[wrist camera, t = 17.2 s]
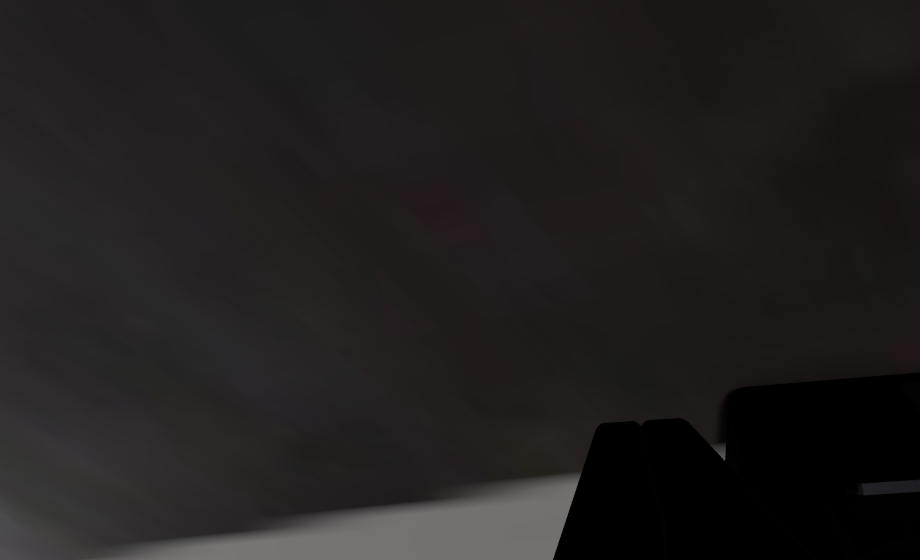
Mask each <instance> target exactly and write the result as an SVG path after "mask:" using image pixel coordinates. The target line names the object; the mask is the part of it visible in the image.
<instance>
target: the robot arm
mask: <svg viewBox="0 0 920 560" xmlns="http://www.w3.org/2000/svg"><path fill="white" fill-rule="evenodd" d="M746 402H752V403H750V404H748V405H743V404H744V403H746ZM553 560H920V373H911V374H899V375H887V376H874V377H862V378H850V379H838V380H825V381H813V382H801V383H789V384H776V385H764V386H752V387H744V388H740V389H738V390H736V391H734V392H733V393H732V394H731V395H730V398H729V403H728V420H727V437H726V454H725V461H724V459H723V458H722V457H721V456H720V455H719V454H718V453H717V452H716V451H715V450H714V449H713V448H712V447H711V446H710V445H709V444H708V443H707V441H706V440H705V439H704V438H703V437H702V436H701V435H700V434H699V433H698V432H697V431H696V430H695V429H694V428H693V427H692V426H691V425H690V423H688V422H687V421H686V420H684V419H681V418H673V419H658V420H647V421H645V422H644V423H643V424H642V426H640V425H639V423H637V422H635V421H628V422H613V423H602V424H600V425H599V426H598V427H597V429H596V431H595V434H594V437H593V440H592V443H591V446H590V449H589V452H588V455H587V458H586V461H585V464H584V467H583V470H582V473H581V476H580V479H579V482H578V485H577V488H576V491H575V494H574V497H573V501H572V504H571V507H570V510H569V513H568V516H567V519H566V522H565V525H564V528H563V531H562V534H561V537H560V540H559V543H558V546H557V549H556V552H555V556H554V558H553Z"/></svg>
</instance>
